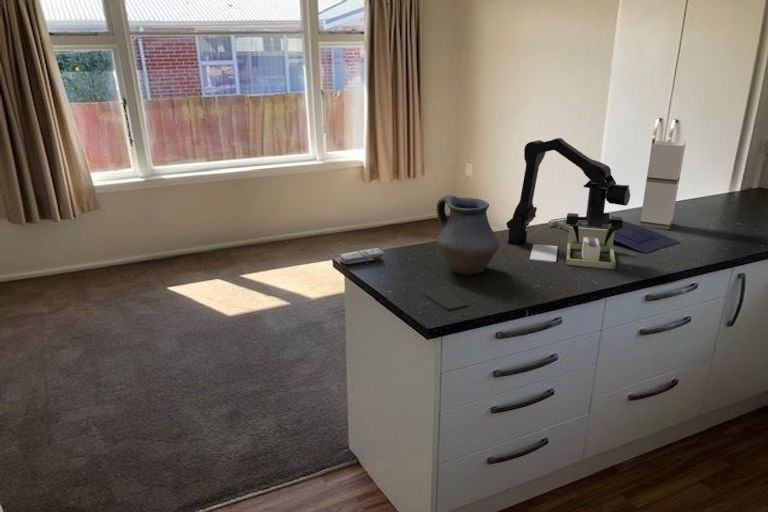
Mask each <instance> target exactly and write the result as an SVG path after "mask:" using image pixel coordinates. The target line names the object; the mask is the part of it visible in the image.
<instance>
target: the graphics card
mask: <svg viewBox="0 0 768 512" xmlns="http://www.w3.org/2000/svg"><path fill="white" fill-rule="evenodd" d="M566 219H567V216H566V217H561V218H555V219H550V220H548V226H551V227H553V226H555V227H556V228H557V227H558V229H559V228H560V229H562V230H565V231H566V232H569V227H571V226H570V224H566ZM585 224H586V223H584V222H578V227H581V228H587V227H584V226H582V225H585ZM548 226H547V227H548Z"/></svg>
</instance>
